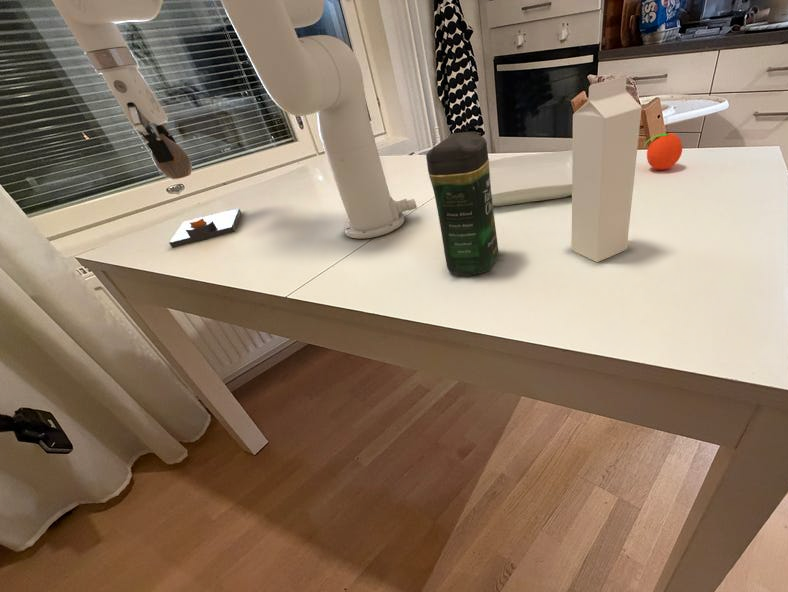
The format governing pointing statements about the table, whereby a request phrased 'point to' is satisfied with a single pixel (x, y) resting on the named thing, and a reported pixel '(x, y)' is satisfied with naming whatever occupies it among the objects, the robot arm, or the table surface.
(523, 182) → the square plate
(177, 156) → the vase
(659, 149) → the tomato
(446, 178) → the coffee jar
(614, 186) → the milk
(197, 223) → the orange angular block
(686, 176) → the table surface
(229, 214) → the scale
